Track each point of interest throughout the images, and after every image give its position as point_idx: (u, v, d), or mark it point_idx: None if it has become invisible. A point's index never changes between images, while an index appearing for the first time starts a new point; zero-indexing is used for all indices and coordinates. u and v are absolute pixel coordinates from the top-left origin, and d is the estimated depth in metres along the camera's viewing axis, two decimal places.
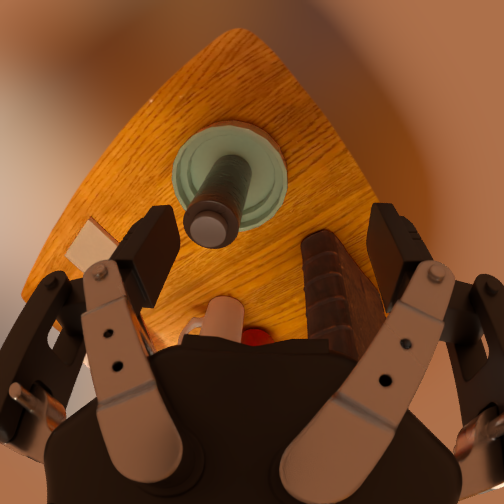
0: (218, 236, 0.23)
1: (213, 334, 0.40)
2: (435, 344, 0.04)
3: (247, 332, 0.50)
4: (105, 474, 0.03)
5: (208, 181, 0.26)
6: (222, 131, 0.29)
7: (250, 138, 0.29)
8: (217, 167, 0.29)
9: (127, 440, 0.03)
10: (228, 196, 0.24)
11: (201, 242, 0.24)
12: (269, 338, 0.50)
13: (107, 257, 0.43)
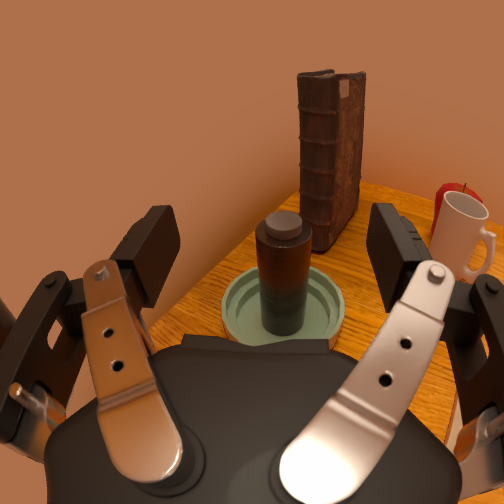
0: (283, 213, 0.24)
1: (446, 235, 0.29)
2: (435, 344, 0.04)
3: None
4: (105, 474, 0.03)
5: (264, 280, 0.26)
6: (235, 329, 0.29)
7: (235, 307, 0.32)
8: (265, 306, 0.28)
9: (127, 440, 0.03)
10: None
11: (298, 221, 0.23)
12: (431, 228, 0.41)
13: None
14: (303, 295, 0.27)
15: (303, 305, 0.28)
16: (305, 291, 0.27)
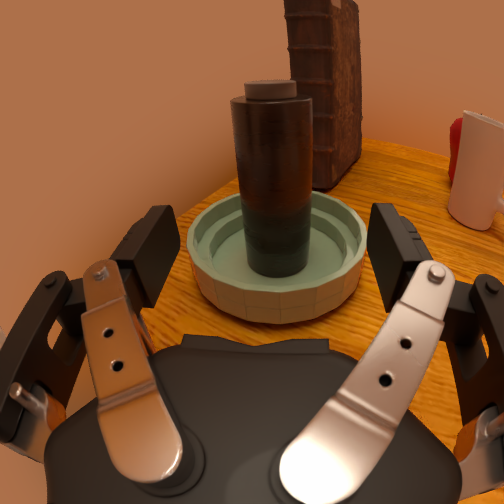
0: (269, 80, 0.15)
1: (475, 153, 0.20)
2: (435, 344, 0.04)
3: None
4: (105, 474, 0.03)
5: (246, 173, 0.16)
6: None
7: (208, 241, 0.22)
8: (249, 224, 0.19)
9: (127, 440, 0.03)
10: None
11: (290, 80, 0.14)
12: (449, 170, 0.32)
13: None
14: (307, 202, 0.18)
15: (307, 223, 0.19)
16: (309, 196, 0.18)
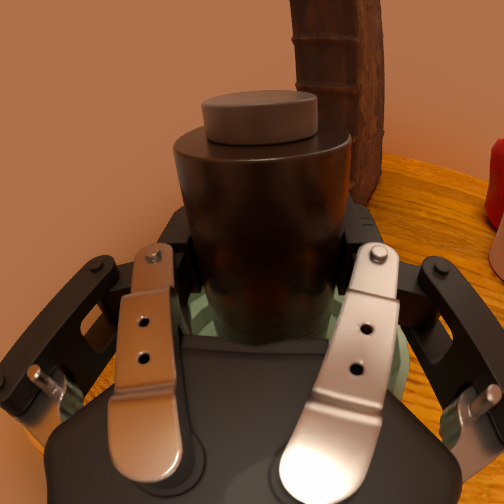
0: (259, 92, 0.07)
1: None
2: (396, 323, 0.05)
3: None
4: (105, 474, 0.03)
5: (212, 291, 0.09)
6: None
7: None
8: None
9: (127, 440, 0.03)
10: None
11: (304, 95, 0.06)
12: (486, 203, 0.24)
13: None
14: (324, 326, 0.10)
15: None
16: (328, 316, 0.10)
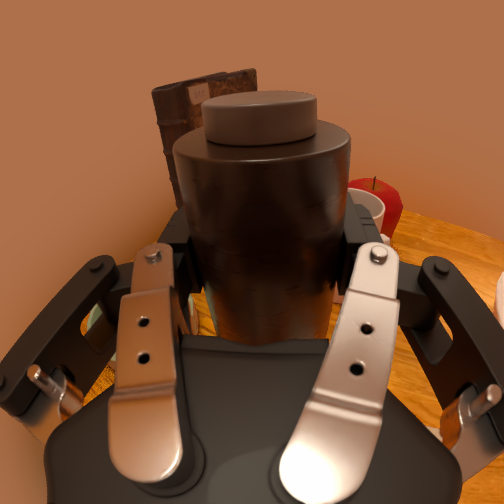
0: (258, 92, 0.07)
1: None
2: (396, 323, 0.05)
3: None
4: (105, 474, 0.03)
5: (212, 292, 0.09)
6: None
7: None
8: None
9: (127, 440, 0.03)
10: None
11: (304, 95, 0.06)
12: None
13: None
14: (323, 326, 0.10)
15: None
16: (327, 316, 0.10)
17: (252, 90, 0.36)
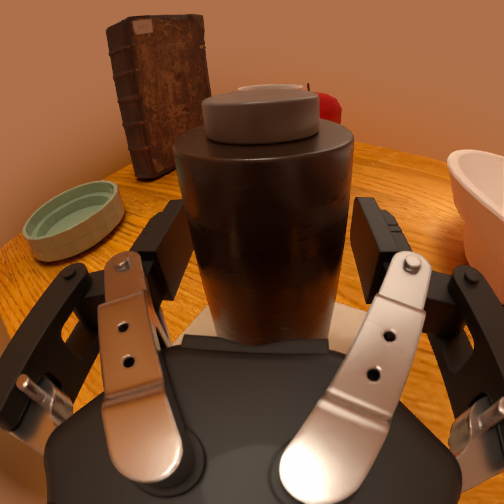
0: (259, 90, 0.07)
1: None
2: (419, 334, 0.05)
3: None
4: (105, 474, 0.03)
5: (213, 293, 0.09)
6: (34, 232, 0.27)
7: (45, 218, 0.29)
8: None
9: (127, 440, 0.03)
10: None
11: (306, 93, 0.06)
12: None
13: None
14: (325, 327, 0.10)
15: None
16: (329, 317, 0.10)
17: (198, 31, 0.35)
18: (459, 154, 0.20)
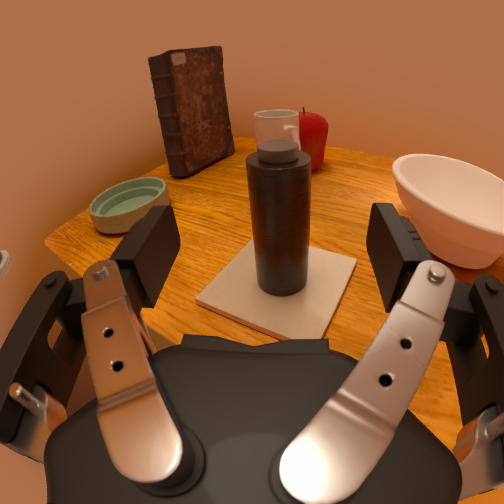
0: (277, 141, 0.20)
1: (258, 139, 0.41)
2: (435, 344, 0.04)
3: None
4: (105, 474, 0.03)
5: (258, 219, 0.22)
6: (96, 214, 0.40)
7: (103, 204, 0.43)
8: (260, 256, 0.24)
9: (127, 440, 0.03)
10: None
11: (294, 144, 0.19)
12: None
13: None
14: (305, 239, 0.23)
15: (305, 254, 0.24)
16: (307, 235, 0.23)
17: (218, 60, 0.48)
18: (405, 158, 0.33)
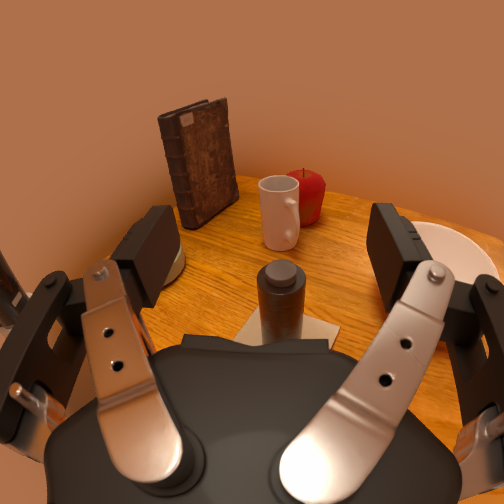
0: (280, 262, 0.28)
1: (262, 207, 0.48)
2: (435, 344, 0.04)
3: None
4: (105, 474, 0.03)
5: (265, 318, 0.29)
6: None
7: None
8: (266, 337, 0.32)
9: (127, 440, 0.03)
10: None
11: (293, 270, 0.27)
12: None
13: None
14: (299, 328, 0.31)
15: (299, 335, 0.32)
16: (300, 325, 0.31)
17: (224, 113, 0.55)
18: None
